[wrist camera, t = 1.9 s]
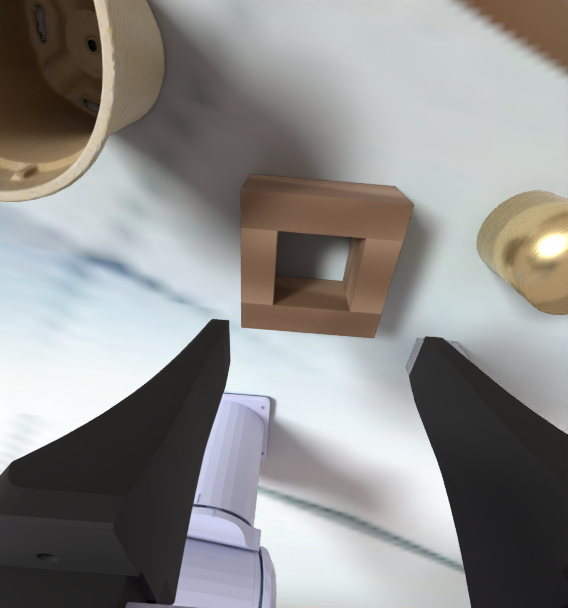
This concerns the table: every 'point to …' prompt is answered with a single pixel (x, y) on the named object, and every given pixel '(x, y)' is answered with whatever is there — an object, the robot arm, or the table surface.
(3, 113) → the flower pot
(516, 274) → the round bit
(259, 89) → the table surface
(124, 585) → the robot arm
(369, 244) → the block
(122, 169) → the table surface
